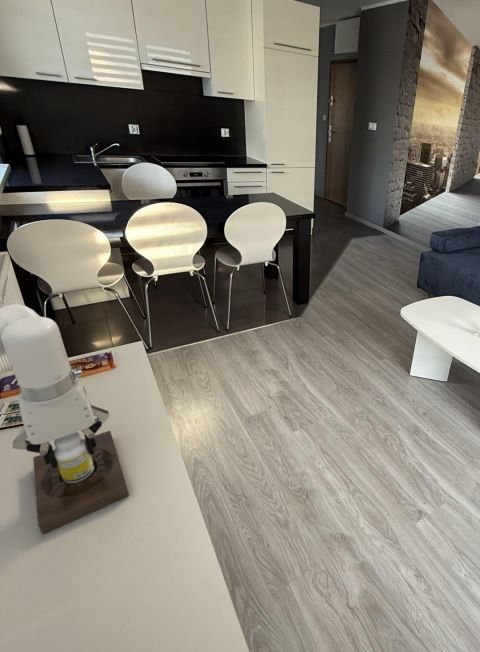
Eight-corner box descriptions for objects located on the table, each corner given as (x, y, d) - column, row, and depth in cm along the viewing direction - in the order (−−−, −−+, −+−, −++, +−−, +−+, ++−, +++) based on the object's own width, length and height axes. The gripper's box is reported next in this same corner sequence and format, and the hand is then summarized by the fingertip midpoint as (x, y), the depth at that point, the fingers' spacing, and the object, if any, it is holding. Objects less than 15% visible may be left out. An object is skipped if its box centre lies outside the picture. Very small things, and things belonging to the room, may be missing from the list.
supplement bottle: (71, 462, 83) (59, 427, 78) (99, 462, 83) (89, 427, 79) (56, 484, 78) (43, 448, 73) (86, 483, 79) (74, 448, 74)
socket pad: (37, 467, 84) (33, 457, 82) (112, 439, 92) (110, 430, 90) (42, 534, 71) (37, 524, 70) (129, 496, 80) (126, 485, 78)
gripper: (100, 359, 78) (118, 427, 86) (-16, 389, 68) (17, 463, 76) (107, 379, 73) (125, 450, 81) (-17, 414, 63) (18, 491, 71)
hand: (73, 455), depth 78 cm, fingers closed on supplement bottle, 5 cm apart
